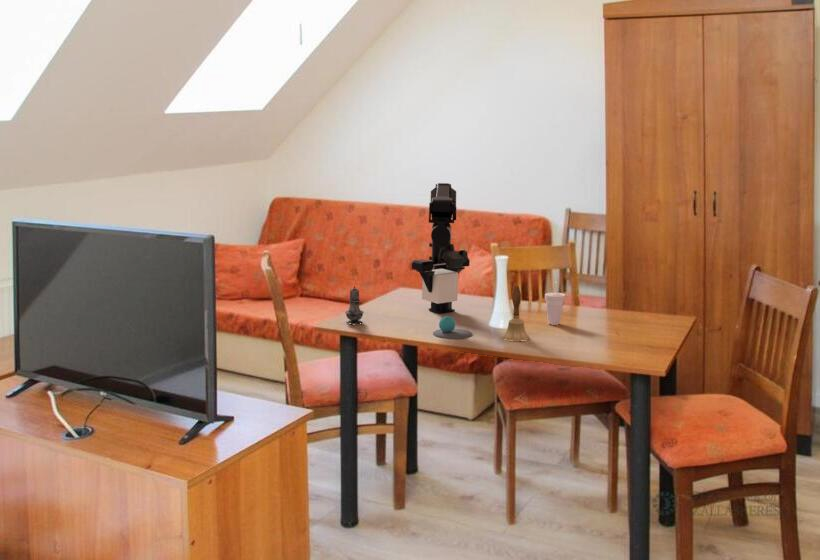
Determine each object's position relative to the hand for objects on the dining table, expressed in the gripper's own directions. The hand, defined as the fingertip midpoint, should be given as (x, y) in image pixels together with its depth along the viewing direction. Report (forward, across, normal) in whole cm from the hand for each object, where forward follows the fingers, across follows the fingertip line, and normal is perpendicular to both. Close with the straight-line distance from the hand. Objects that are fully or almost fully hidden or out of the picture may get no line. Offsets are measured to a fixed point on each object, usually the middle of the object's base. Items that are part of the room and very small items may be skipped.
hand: (440, 290), depth 298 cm
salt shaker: (+13, -16, +23) cm, 31 cm away
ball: (+10, 0, -3) cm, 10 cm away
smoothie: (+12, +35, -15) cm, 40 cm away
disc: (+12, +1, -6) cm, 14 cm away
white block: (+3, 0, 0) cm, 3 cm away
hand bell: (+13, +13, -20) cm, 27 cm away
